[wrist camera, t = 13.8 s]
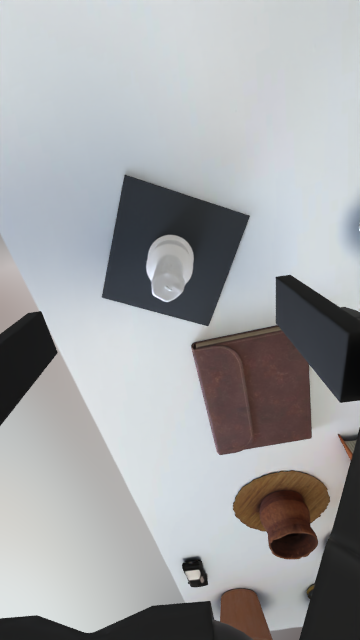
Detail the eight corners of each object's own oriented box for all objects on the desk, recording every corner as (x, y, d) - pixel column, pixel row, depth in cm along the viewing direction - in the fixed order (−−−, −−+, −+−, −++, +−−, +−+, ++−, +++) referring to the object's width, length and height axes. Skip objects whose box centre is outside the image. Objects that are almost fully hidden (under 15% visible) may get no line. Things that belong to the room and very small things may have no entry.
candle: (198, 240, 30) (209, 261, 19) (188, 284, 32) (192, 326, 21) (151, 230, 30) (135, 246, 19) (144, 275, 32) (126, 314, 21)
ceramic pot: (214, 497, 49) (219, 541, 42) (301, 455, 45) (321, 498, 38) (263, 541, 55) (274, 586, 48) (344, 508, 50) (368, 553, 44)
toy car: (208, 578, 61) (210, 594, 58) (191, 581, 61) (192, 597, 59) (199, 555, 57) (200, 571, 54) (181, 558, 57) (181, 574, 55)
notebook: (303, 319, 34) (310, 326, 33) (308, 429, 42) (314, 440, 40) (190, 343, 36) (191, 350, 34) (216, 445, 44) (217, 456, 42)
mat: (102, 296, 33) (101, 297, 33) (125, 174, 28) (124, 174, 27) (208, 325, 35) (208, 326, 35) (249, 215, 29) (249, 215, 29)
